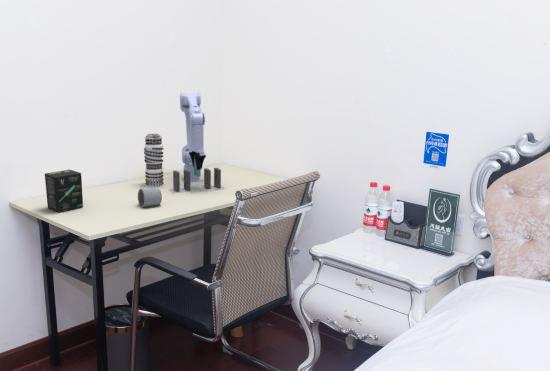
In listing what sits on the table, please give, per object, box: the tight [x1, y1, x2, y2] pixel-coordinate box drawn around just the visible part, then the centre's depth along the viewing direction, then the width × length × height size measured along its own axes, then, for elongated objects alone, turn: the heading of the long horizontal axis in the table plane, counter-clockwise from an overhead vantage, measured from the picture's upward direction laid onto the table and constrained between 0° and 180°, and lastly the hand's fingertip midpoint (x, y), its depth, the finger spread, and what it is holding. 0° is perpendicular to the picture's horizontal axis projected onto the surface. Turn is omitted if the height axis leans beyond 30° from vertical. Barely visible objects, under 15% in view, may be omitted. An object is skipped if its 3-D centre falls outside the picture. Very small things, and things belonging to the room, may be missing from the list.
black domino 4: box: [213, 167, 222, 190], centre depth 250 cm, size 2×5×9 cm, turn 26°
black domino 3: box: [203, 167, 212, 189], centre depth 248 cm, size 2×5×9 cm, turn 26°
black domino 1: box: [172, 170, 181, 192], centre depth 241 cm, size 2×5×9 cm, turn 26°
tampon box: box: [44, 169, 84, 214], centre depth 210 cm, size 11×9×15 cm
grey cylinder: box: [137, 187, 163, 208], centre depth 219 cm, size 11×8×8 cm
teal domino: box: [194, 158, 202, 177], centre depth 244 cm, size 2×5×9 cm, turn 26°
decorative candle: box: [143, 133, 165, 188], centre depth 247 cm, size 9×9×25 cm
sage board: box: [167, 184, 227, 194], centre depth 247 cm, size 8×26×1 cm, turn 116°
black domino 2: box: [183, 169, 191, 191], centre depth 243 cm, size 2×5×9 cm, turn 26°
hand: (197, 168), depth 244 cm, fingers closed on teal domino, 5 cm apart
